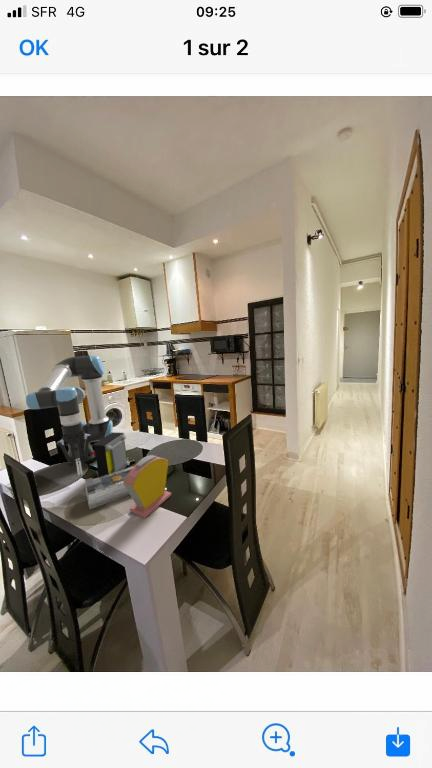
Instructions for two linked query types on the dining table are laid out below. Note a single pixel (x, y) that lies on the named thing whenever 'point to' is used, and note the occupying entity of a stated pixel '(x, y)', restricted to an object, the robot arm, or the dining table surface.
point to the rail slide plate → (107, 490)
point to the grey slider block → (92, 484)
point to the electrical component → (110, 454)
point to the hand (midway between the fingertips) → (80, 473)
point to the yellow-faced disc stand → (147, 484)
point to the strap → (114, 480)
